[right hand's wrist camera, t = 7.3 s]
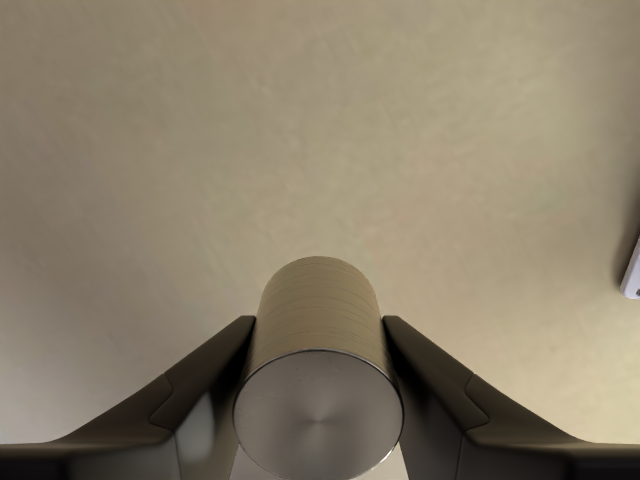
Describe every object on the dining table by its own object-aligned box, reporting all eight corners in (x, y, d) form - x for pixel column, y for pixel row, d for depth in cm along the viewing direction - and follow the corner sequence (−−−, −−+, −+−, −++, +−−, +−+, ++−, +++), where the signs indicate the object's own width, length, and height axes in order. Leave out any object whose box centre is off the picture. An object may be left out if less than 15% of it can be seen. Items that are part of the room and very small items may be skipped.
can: (334, 232, 12) (342, 316, 7) (398, 321, 13) (436, 438, 8) (237, 295, 12) (195, 404, 8) (305, 374, 13) (298, 508, 9)
